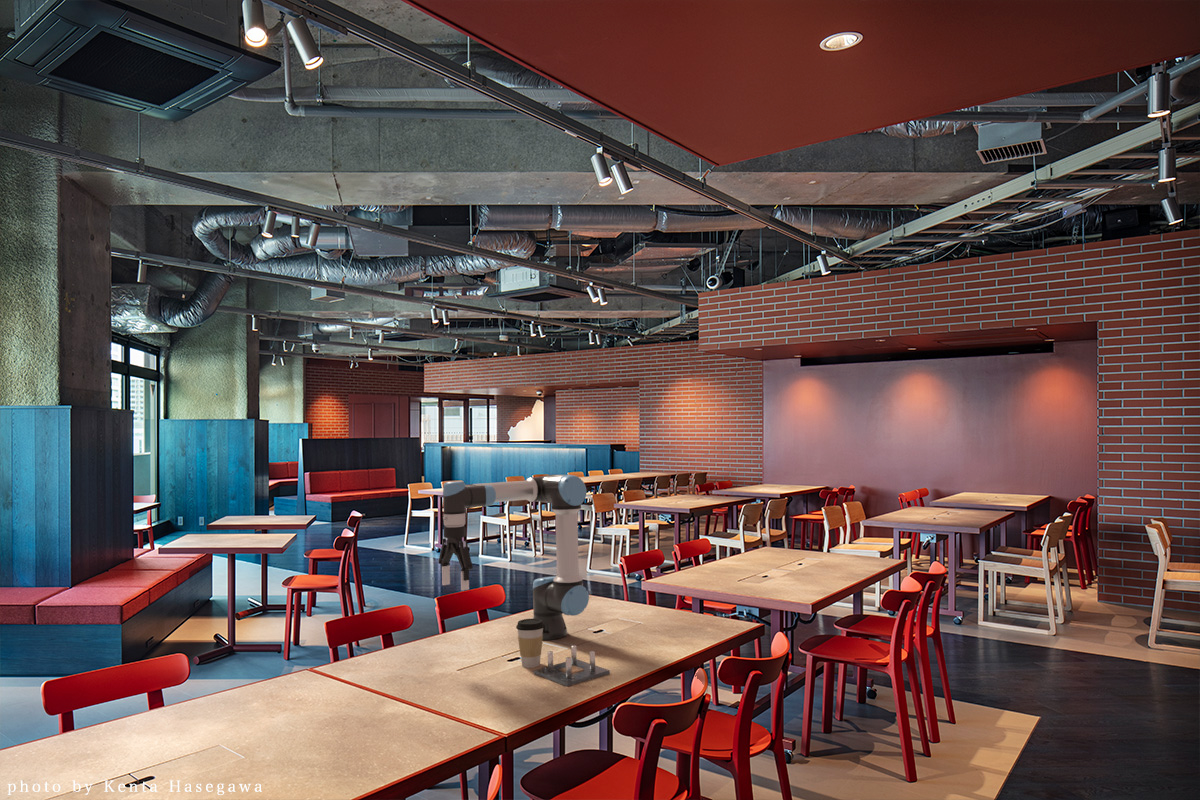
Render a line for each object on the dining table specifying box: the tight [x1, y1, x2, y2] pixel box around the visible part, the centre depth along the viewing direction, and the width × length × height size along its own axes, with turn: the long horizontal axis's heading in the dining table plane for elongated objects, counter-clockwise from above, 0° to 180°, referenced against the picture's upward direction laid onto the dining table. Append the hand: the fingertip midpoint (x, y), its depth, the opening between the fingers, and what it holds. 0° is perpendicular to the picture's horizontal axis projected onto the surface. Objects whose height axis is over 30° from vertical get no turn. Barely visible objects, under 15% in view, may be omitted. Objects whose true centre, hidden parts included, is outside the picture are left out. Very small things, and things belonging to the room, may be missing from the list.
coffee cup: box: [515, 618, 544, 669], centre depth 254 cm, size 10×10×15 cm
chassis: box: [533, 645, 611, 687], centre depth 243 cm, size 18×18×7 cm
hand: (455, 587), depth 253 cm, fingers open, 13 cm apart
